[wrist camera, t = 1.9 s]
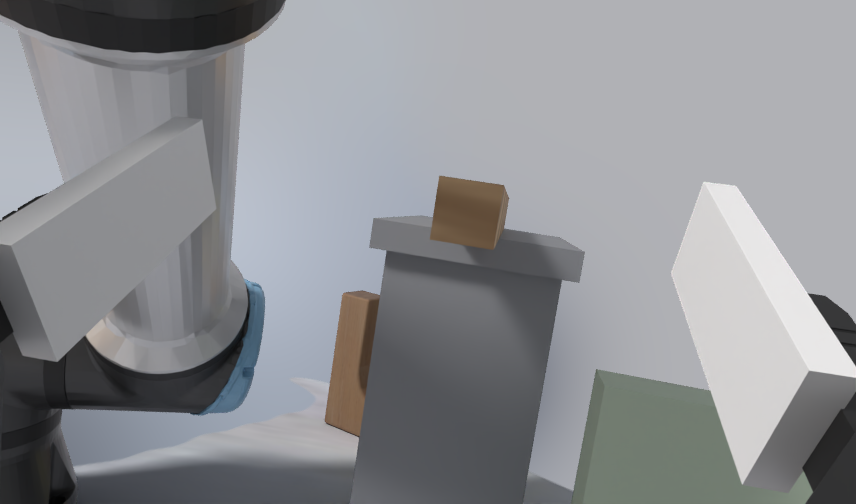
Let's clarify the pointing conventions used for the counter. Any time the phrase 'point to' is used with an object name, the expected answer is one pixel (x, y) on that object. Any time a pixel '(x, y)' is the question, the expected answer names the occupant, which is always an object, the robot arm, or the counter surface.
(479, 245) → the oak bar
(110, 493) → the counter surface
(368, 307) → the wooden block
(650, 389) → the green block
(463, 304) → the stand
